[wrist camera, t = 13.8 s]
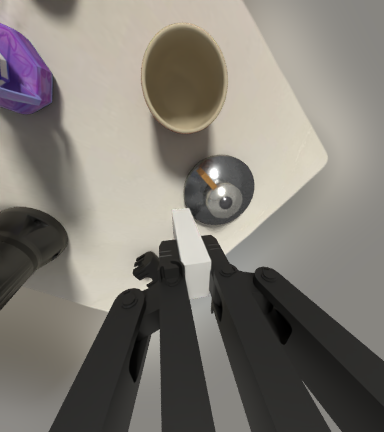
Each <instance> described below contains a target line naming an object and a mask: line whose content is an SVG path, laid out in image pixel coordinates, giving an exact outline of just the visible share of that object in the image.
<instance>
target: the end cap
mask: <svg viewBox="0 0 384 432" xmlns="http://www.w3.org/2000/svg"><path fill="white" fill-rule="evenodd" d="M136 261H137V262H135V264H134V266H135V267H136V266H139V267H137V268H135V269H133V275H134V276H135V277H136V278H137V279H139V280H142V279H143V278H146V277H150V278H152V280H153V281H152V282H150V283H149V284H147V287H148V288H150V287H152V286H153V285H154V284H155V283H156V282H157V281H158V273H157V269H158V266H159V265H160V264H159V258H158V257H157V256H156V255H155V254H154V253H153V252H151V251H150V252H146V253H145V254H143V255H141V256H140V257H138V258H137V259H136Z"/></svg>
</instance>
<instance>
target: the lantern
mask: <svg viewBox="0 0 384 432" xmlns="http://www.w3.org/2000/svg"><path fill="white" fill-rule="evenodd" d="M52 81H53V74H52V73H51V71H50V70H49V68H48V67H47V65H46V64H45V62H44V61H43V60H42V58H41V57H40V55H39V54H38V52H37V51H36V49H35V48H34V47H33V45H32V44H31V42H30V41H29V40H28V39H27V38H26V37H24V36H23V35H22V34H21V33H19V32H17V31H16V30H14V29H12V28H10V27H8V26H6V25H3V24H1V23H0V107H3V108H5V109H8V110H11V111H14V112H17V113H21V114H33V113H34V112H36V111H38V110H40V109H41V108H43V107H45V106H47V105H48V104H50V103H52Z"/></svg>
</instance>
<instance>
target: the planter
mask: <svg viewBox="0 0 384 432" xmlns="http://www.w3.org/2000/svg"><path fill="white" fill-rule="evenodd" d="M141 84H142V90H143V95H144V98H145V101H146V104H147V106H148V108H149V110H150V111H151V113H152V115H153V116H154V117H155V118H156V120H157V121H158V122H159V123H160V124H162V125H163V126H164V127H165V128H167V129H169V130H171V131H173V132H176V133H180V134H191V133H196V132H199V131H201V130H203V129H205V128H206V127H207V126H209V125H210V124H211V123H212V122H213V121H214V120H215V119H216V117H217V116H218V114H219V113H220V111H221V109H222V107H223V104H224V102H225V98H226V94H227V87H228V75H227V68H226V63H225V60H224V57H223V54H222V52H221V50H220V48H219V46H218V45H217V43H216V42H215V40H214V39H213V38H212V37H211V36H210V35H209V34H208V33H207V32H206V31H205V30H203V29H202V28H200V27H198V26H196V25H193V24H189V23H175V24H171V25H169V26H167V27H165V28H163V29H162V30H160V31H159V32H158V33H157V34H156V35H155V36H154V37H153V39H152V40H151V42H150V43H149V45H148V47H147V49H146V51H145V54H144V58H143V62H142V68H141Z"/></svg>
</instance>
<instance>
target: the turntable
mask: <svg viewBox="0 0 384 432" xmlns="http://www.w3.org/2000/svg"><path fill="white" fill-rule="evenodd" d="M217 179H224V180H226V181H228V182H229V183H231V184H232V185H234V186H235V187H237V188H238V189H239V190H240V192H241V194H242V204H241V207H240V208H239V210H238V211H237V212H236V213H235V214H234V215H232V216H230V217H228V218H217V217H215V216H213V215H212V214H211V212H210V211H209V209H208V208H207V206H206V205H205V203H204V201H203V192H204V189H205V187H206V186H207V185H209V186H210V187H211V188H212V189H214V188H216V187H217V185H216V184H215V183H214V182H213V181H214V180H217ZM253 193H254V179H253V175H252V173H251V171H250V169H249V168H248V166H247V165H246V164H245V163H244V162H242V161H241V160H239V159H237V158H234V157H232V156H228V155H215V156H211V157H208V158H206V159H204V160H202V161H201V162H199V163H198V164H197V165H196V166H195V167H194V168H193V169H192V170H191V171H190V173H189V175H188V176H187V179H186V181H185V185H184V200H185V203H186V206H187V208H189V209H190V211H191V214H192V216H193V217H194V218H196V219H197V220H199V221H200V222H203V223H206V224H211V225H219V224H224V223H227V222H230V221H232V220H234V219H235V218H237V217H238V216H240V215H241V214H242V213H243V212H244V211H245V209H246V208H247V207H248V205H249V204H250V202H251V199H252V197H253Z"/></svg>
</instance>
